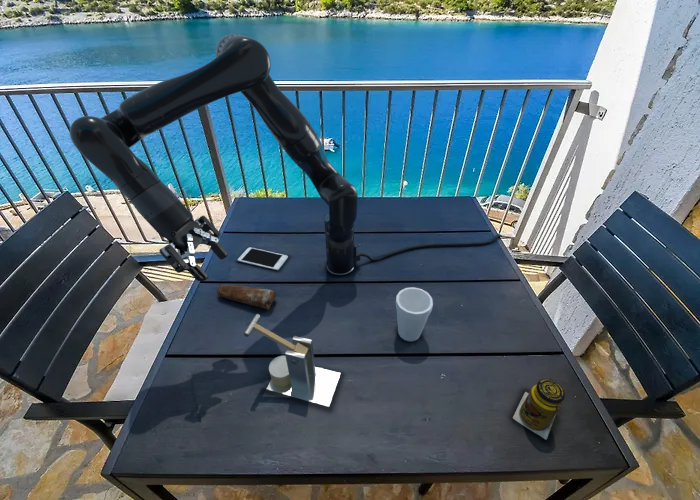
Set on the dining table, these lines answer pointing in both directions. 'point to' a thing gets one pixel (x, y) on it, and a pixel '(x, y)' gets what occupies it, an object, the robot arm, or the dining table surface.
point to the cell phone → (263, 258)
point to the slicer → (307, 377)
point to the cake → (279, 371)
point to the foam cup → (412, 312)
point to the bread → (247, 295)
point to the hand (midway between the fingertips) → (215, 268)
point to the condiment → (540, 407)
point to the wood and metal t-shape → (274, 336)
